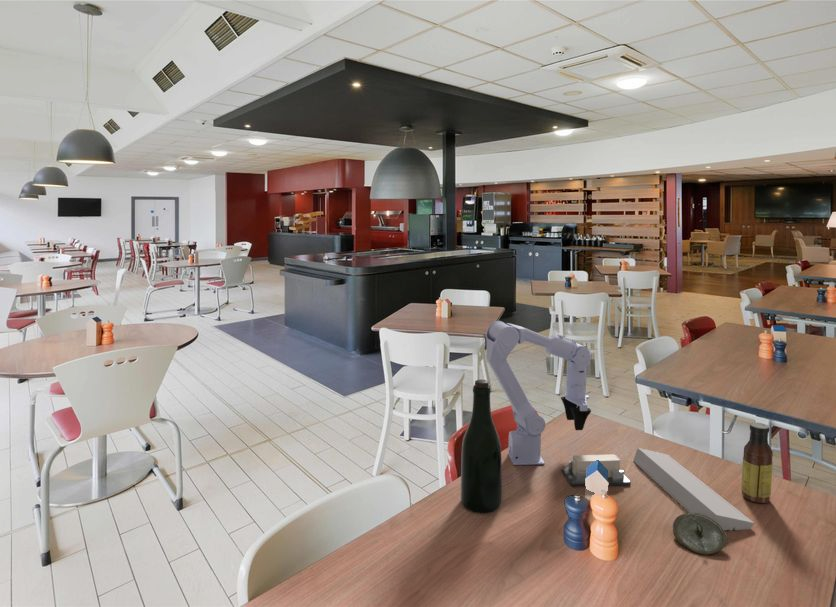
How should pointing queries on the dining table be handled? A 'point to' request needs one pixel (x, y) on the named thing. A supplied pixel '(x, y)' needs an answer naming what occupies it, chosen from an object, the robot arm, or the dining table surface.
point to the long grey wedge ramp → (690, 490)
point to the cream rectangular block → (585, 460)
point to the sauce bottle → (757, 465)
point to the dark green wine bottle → (481, 456)
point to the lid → (699, 533)
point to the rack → (579, 480)
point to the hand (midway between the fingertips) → (574, 424)
